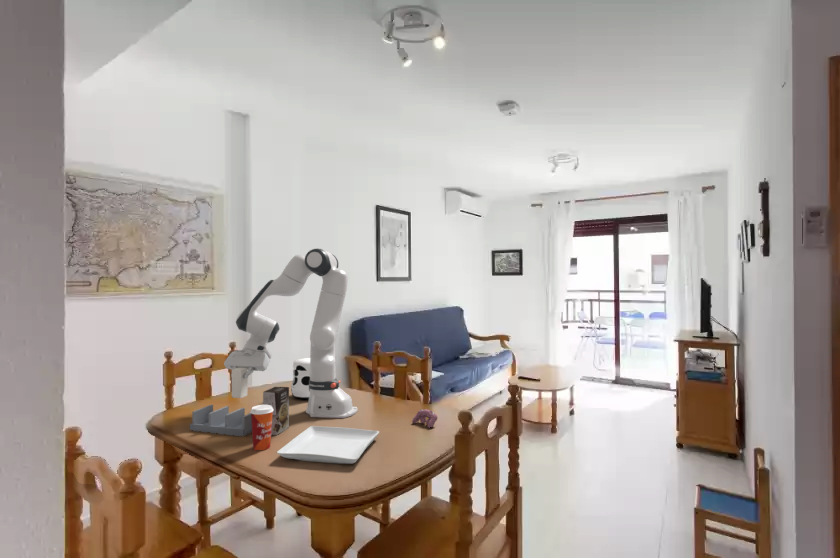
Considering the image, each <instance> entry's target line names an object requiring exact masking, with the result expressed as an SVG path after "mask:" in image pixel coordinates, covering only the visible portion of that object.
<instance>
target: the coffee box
mask: <svg viewBox="0 0 840 558" xmlns="http://www.w3.org/2000/svg"><path fill="white" fill-rule="evenodd" d="M262 394H263V395H262V405H271V406H272V408H273V410H274V411H273V414H272V430H271V436H278V435H279V434H281V433H283V432H284V431H286V430H287V429H289V427H290V426H289V425H290V424H289V423H290V387H289V386H274V387H271V388H269V389H267V390H264V391H262Z"/></svg>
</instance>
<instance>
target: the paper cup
mask: <svg viewBox="0 0 840 558" xmlns="http://www.w3.org/2000/svg"><path fill="white" fill-rule="evenodd" d="M273 411H274V410H273V408H272V406H271V405H263V404H258V405H254V406H252V407H251V410H250V411H249V413H251V419H252V432H251V436H252V437H251V438H252V449H253V450H254V451H257V450H261V451H265V450H269V449H270V448H271V441H272V435H271V430H272V414H273Z"/></svg>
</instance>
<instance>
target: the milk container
mask: <svg viewBox="0 0 840 558" xmlns="http://www.w3.org/2000/svg"><path fill="white" fill-rule="evenodd" d="M292 368H293V369H292V373H293V374H292V376H293V377H292V382H291V385H290V386H291V387H290V392H291V395H292V396H293V397H294V398H296V399H302V400H306V399H307V400H309V393H310V392H309V380H310V357H304V358H298V359H294V361H293V365H292Z"/></svg>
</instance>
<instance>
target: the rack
mask: <svg viewBox="0 0 840 558" xmlns="http://www.w3.org/2000/svg"><path fill="white" fill-rule="evenodd" d="M229 408H230V407H229V405H225V406H224V407H220V408H219V409H215V410H214V404H209V405H206V406H204V407H201V408H198V409H195V410H193V411H192V415H191V416H192V419H191V421H192V423H189V431H190V430H193V431H192V432H199V431H201V433H207V432H210V433H209V434H216V433H218V434H217V435H224V434H226V435H227V436H233V435H234V437H241V436H244V437H245V436H247V435H249V434H250V432H251V433H252V419H251V413H250V412H249V413H247V414H245V410H246V409H245V407H241V408H238V409H235V410H234V411H231V412H230V411H229V410H230V409H229ZM226 435H225V436H226Z"/></svg>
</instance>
